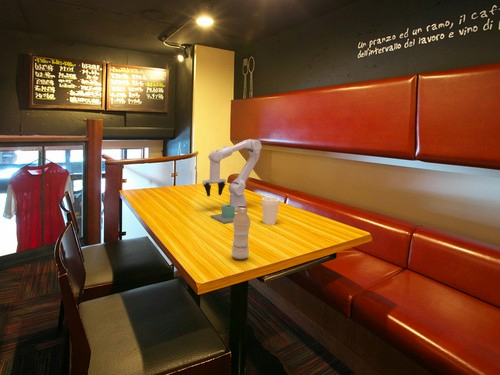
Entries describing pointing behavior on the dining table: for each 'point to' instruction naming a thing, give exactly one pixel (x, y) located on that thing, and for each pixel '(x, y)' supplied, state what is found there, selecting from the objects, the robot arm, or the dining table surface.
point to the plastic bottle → (241, 233)
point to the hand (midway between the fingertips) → (214, 195)
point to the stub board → (222, 218)
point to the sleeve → (228, 211)
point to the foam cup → (270, 209)
